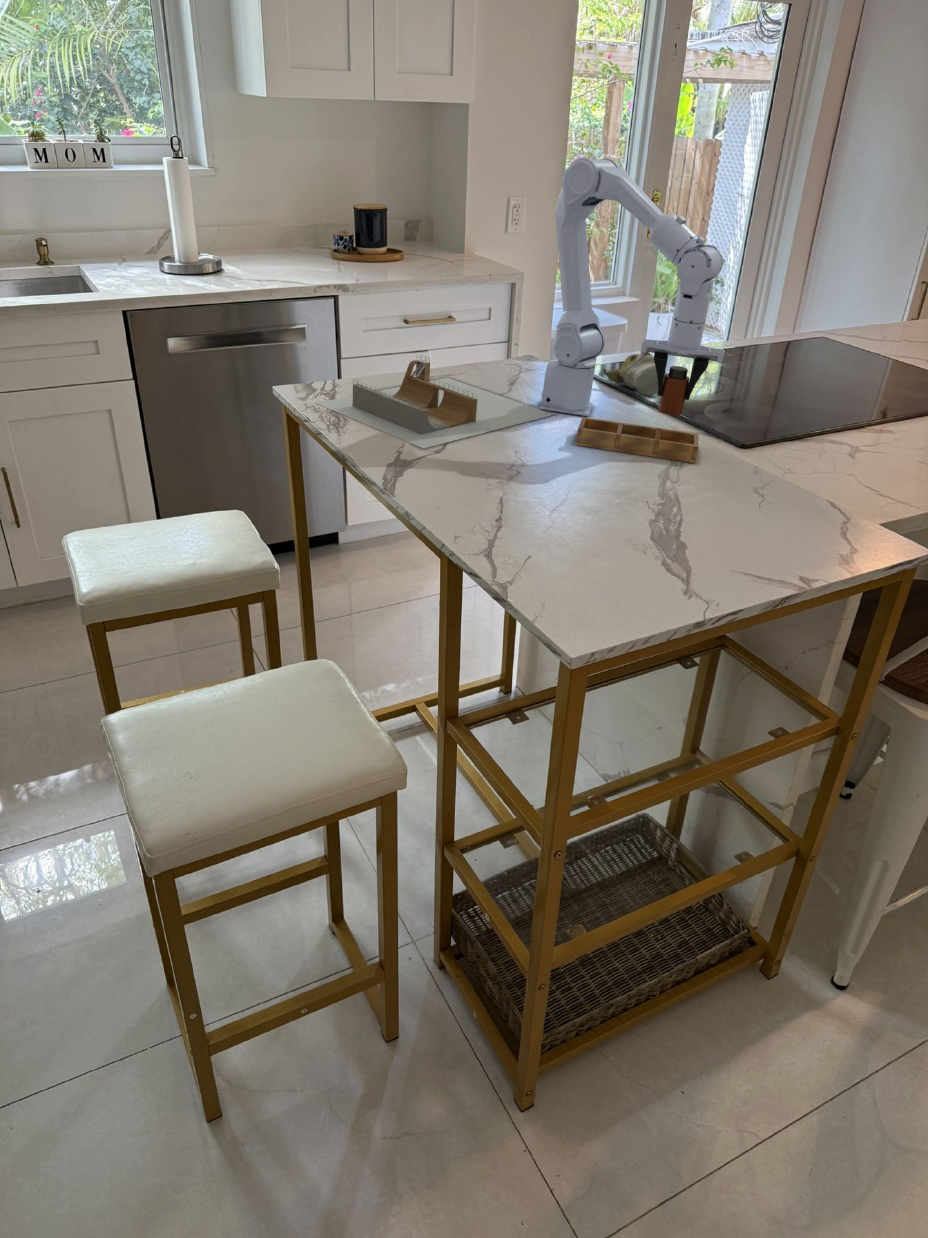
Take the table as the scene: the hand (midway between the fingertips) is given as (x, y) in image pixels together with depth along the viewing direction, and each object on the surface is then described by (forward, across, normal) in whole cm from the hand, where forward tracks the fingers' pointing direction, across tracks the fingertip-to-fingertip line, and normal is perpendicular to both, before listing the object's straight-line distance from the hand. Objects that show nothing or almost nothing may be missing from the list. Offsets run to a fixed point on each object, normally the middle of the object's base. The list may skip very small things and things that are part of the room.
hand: (672, 396), depth 161 cm
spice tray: (+7, -5, -10) cm, 13 cm away
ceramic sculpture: (+8, -7, +30) cm, 32 cm away
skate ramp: (+8, -43, -5) cm, 44 cm away
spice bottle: (+3, 0, 0) cm, 3 cm away
